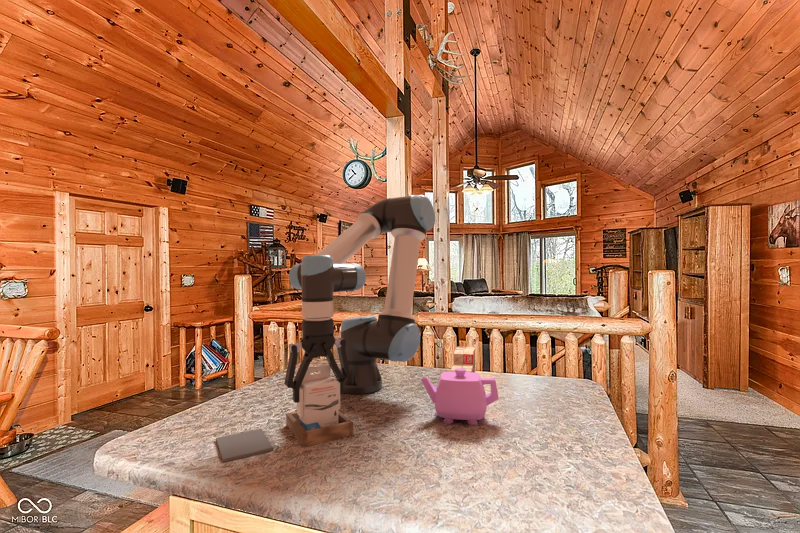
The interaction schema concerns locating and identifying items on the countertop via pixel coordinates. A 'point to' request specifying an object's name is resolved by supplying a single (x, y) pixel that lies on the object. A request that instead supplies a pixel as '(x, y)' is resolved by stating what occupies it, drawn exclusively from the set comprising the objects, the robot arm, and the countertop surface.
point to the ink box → (319, 399)
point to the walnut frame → (319, 430)
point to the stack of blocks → (464, 359)
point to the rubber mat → (243, 445)
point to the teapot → (461, 395)
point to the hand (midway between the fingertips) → (319, 411)
